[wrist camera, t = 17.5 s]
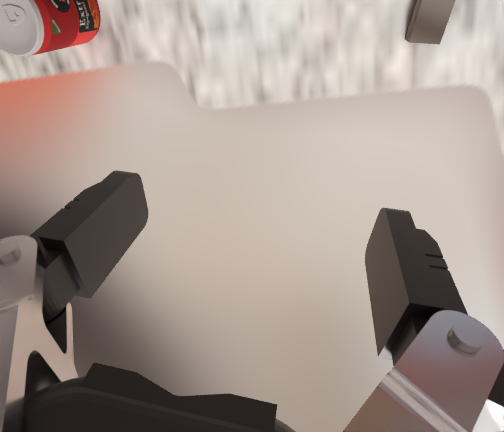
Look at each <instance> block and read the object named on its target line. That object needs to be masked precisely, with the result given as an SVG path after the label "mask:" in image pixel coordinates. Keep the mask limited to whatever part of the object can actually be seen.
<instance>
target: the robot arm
mask: <svg viewBox="0 0 504 432" xmlns="http://www.w3.org/2000/svg"><path fill="white" fill-rule="evenodd" d="M147 219H148V208H147V203H146V198H145V194H144V189H143V184H142V181H141V177H140V175H139V174H137V173H131V172H123V171H113V172H112V173H111V174H109V175H108V176H107V177H106V178H105V179H104V180H103V181H101V182H100V183H97V184H95V185H93V186H91V187H89V188H87V189H85V190H83V191H82V192H81V193H80V194H79V195H77V196H76V197H75V198H74V200H73V201H71V202H69V203H68V204H67V205H66V206H65V208H64V209H61V210H60V211H59V212H58V213H56V214H55V215H54V216H53V217H51V218H50V219H49V220H48V221H47V222H46V223H44V224H43V225H42V226H41V227H40V228H38V229H37V230H36V231H35V232H34V233H33V234H31V235H30V236H12V237H7V238H4V239H1V240H0V432H295V431H294V430H292V429H291V428H290V427H289V426H287V425H286V424H284V423H283V422H281V421H279V420H277V419H276V410H277V404H272V403H268V402H264V401H259V400H255V399H251V398H246V397H242V396H237V395H233V394H213V395H196V396H176V395H173V394H171V393H170V392H168V391H167V390H165V389H163V388H161V387H160V386H158V385H156V384H155V383H153V382H152V381H150V380H148V379H147V378H145V377H143V376H142V375H140V374H138V373H136V372H133V371H128V370H124V369H120V368H115V367H111V366H106V365H102V364H98V363H94V364H93V365H92V366H91V368H90V370H89V371H88V373H87V375H86V376H84V377H78V376H77V372H76V370H75V366H74V360H73V331H72V308H71V305H70V303H69V302H70V300H71V299H72V298H73V297H74V295H76V296H81V297H86V298H91V297H92V296H93V295H94V293H95V292H96V291H97V289H98V288H99V287H100V285H101V284H102V282H103V281H104V280H105V278H106V277H107V276H108V275H109V273H110V272H111V271H112V269H113V268H114V267H115V265H116V264H117V263H118V261H119V260H120V259H121V257H122V256H123V255H124V253H125V252H126V251H127V249H128V248H129V247H130V245H131V244H132V243H133V241H134V240H135V239H136V237H137V236H138V235H139V233H140V232H141V231H142V230H143V228H144V227H145V225H146V222H147ZM365 264H366V272H367V280H368V287H369V294H370V301H371V308H372V316H373V323H374V330H375V338H376V345H377V352H378V357H380V358H385V359H390V360H393V366H394V367H393V368H392V370H391V371H390V372H389V373H387V375H386V376H385V377H384V378H383V380H382V381H381V382H380V383H379V385H378V386H377V387H376V389H375V390H374V392H373V393H372V394H371V395H370V397H369V398H368V399H367V401H366V402H365V403H364V404H363V406H362V407H361V408H360V410H359V411H358V413H357V414H356V415H355V416H354V418H353V419H352V420H351V422H350V423H349V424H348V426H347V427H346V428H345V430H344V431H343V432H504V350H503V348H502V346H501V344H500V342H499V340H498V339H497V338H496V336H495V335H494V334H493V333H492V332H491V331H490V330H489V329H488V328H487V327H486V326H485V325H484V324H482V323H481V322H479V321H478V320H476V319H475V318H472V317H471V316H469V315H468V314H467V311H466V309H465V307H464V304H463V302H462V300H461V297H460V295H459V293H458V290H457V288H456V286H455V283H454V281H453V279H452V276H451V274H450V272H449V271H448V270H447V269H448V267H447V265H446V262H445V260H444V259H443V255H442V253H441V251H440V248H439V246H438V243H437V242H436V241H435V240H434V239H433V238H432V237H431V236H430V235H429V234H428V233H427V232H426V231H425V230H421V229H416V227H415V225H414V222H413V220H412V217H411V214H410V212H409V211H404V210H396V209H388V208H382V209H381V210H380V212H379V214H378V217H377V220H376V222H375V225H374V228H373V231H372V233H371V236H370V239H369V241H368V244H367V248H366V254H365Z"/></svg>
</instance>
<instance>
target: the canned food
mask: <svg viewBox="0 0 504 432" xmlns="http://www.w3.org/2000/svg"><path fill="white" fill-rule="evenodd" d="M99 27H100V11H99V8H98V4H97V2H96V0H0V50H2V51H3V52H5V53H8V54H10V55H14V56H30V55H36V54H40V53H45V52H49V51H53V50H58V49H62V48H66V47H71V46H75V45H79V44H83V43H87V42H89V41H90V40H92V38H93V37H94V36H95V35H96V34H97V32H98V30H99Z"/></svg>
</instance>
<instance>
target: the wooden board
mask: <svg viewBox="0 0 504 432" xmlns="http://www.w3.org/2000/svg"><path fill="white" fill-rule="evenodd" d="M454 3H455V0H416V3H415V7H414V10H413V13H412V17H411V20H410V24H409V27H408V30H407V34H406V37H405V40H407V41H408V42H412V43H427V44H440V42H441V39H442V36H443V34H444V31H445V28H446V25H447V22H448V20H449V17H450V14H451V11H452V8H453V6H454Z"/></svg>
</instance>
